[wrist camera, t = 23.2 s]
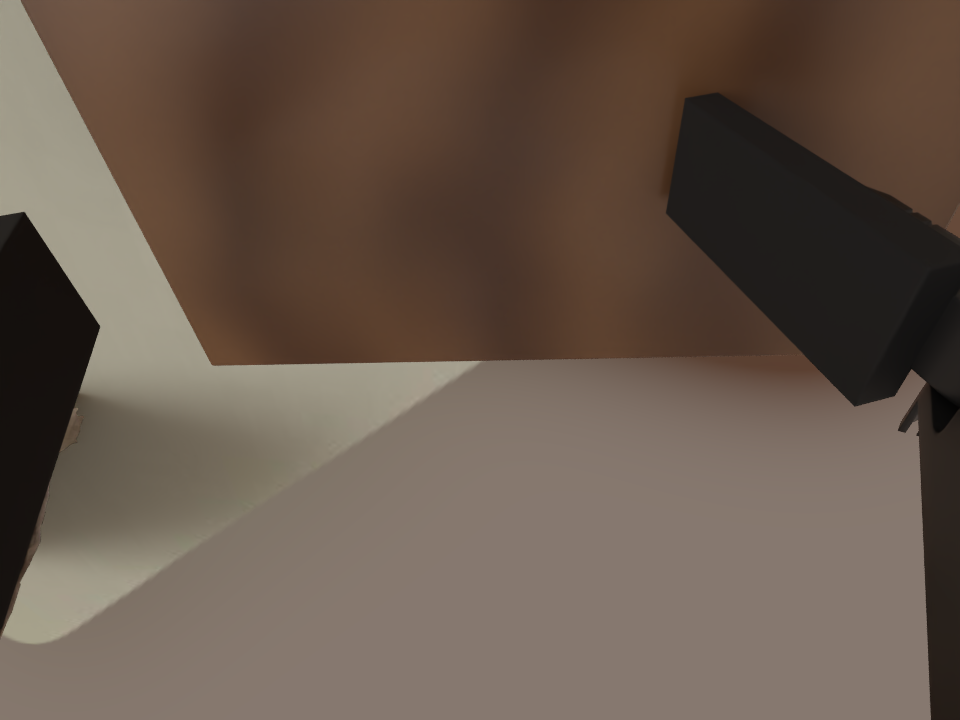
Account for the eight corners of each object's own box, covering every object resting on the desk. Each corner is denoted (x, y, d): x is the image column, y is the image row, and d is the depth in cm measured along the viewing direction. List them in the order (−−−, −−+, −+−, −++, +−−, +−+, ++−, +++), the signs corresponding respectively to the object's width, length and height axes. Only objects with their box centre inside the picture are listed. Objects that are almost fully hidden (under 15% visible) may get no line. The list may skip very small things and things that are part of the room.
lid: (1200, -313, 9) (1246, -320, 9) (867, 336, 18) (879, 354, 18) (-52, -195, 11) (-83, -193, 10) (220, 349, 20) (211, 366, 19)
